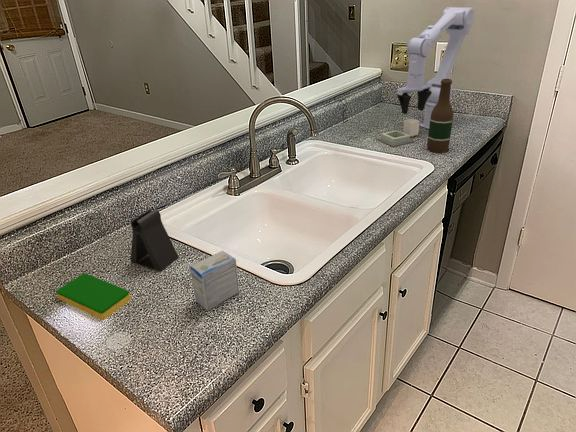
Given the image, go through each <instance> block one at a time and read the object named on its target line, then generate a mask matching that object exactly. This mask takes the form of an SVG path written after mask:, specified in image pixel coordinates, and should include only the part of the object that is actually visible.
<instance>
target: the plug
mask: <svg viewBox="0 0 576 432" xmlns="http://www.w3.org/2000/svg"><path fill="white" fill-rule="evenodd" d="M420 122H421V121H420V120H418V119H415V118H408V119H404V120H403V124H402V125H403V128H402V132H403V133H406V134H408V135H411V136H410V138H414V136H418V135H419V129H420V126H419V124H420Z"/></svg>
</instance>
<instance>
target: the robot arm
mask: <svg viewBox="0 0 576 432" xmlns="http://www.w3.org/2000/svg"><path fill="white" fill-rule="evenodd" d="M474 20H475V11H474V8H473V7H471V6H470V7H455V6H447V7H446V8H445V9H444V10H443V11H442V15H441V17H440V19H438V21H437V22H435V24H434V25H433V24H432V25H431V24H429V25H428V26H427V27H426V28H425V29H424V30H423V31H422V32H421V33H420V34H419V35H418V36H416V37H413V38H411V39H409V41H408V42H407V45H406V52H407V60H408V70H407V82H406V84H405V86H403V87H400V88H397V92H396V97H397V98H398V101H399V104H400V108H401V109H400V110H401V113H402V114H404V115H406V114H408V111H409V105H410V101H411V99H412V95H409V94H411V93H417V110H418V111H422V112H423V111H424V115H423V122H422V123H419V127H422V128H424V129H428V130H429V125H430V118H431V113H432V110H433V108H434V107H435V106H436V104H437V103H438V99H439V94H440V89H441V80H442V79H451V78H450V77H451V74H452V72H453V69H454V67H455V64H456V61H457V59H458V56H459V53H460V50H461V48H462V45H463V43H464V41H465V40H464V39H465V37H466V36H467V35H469V33H470V31H471V28H472V26H473V22H474ZM444 31H445V32H446V33H447V34H448V35H449V39H448V42H447V44H446V47H445V48H444V49H445V50H444V51H443V54H442V58H441V60H440V63H439V66H438V68H437V71H436V74H435V76H434V77H433V78H430V79H429V80H427V83H424V82H425V76H426V75H425V74H426V66H427V65H426V64H427V56H429V55H430V53H431V50H432V49H433V46H434V44H435V43H437V42H438V41H439V40H440V39H441V36H442V33H443V32H444ZM453 89H454V87H453V85H452V84H451V90H450V100H451V98H452V93H453Z"/></svg>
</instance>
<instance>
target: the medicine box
mask: <svg viewBox="0 0 576 432" xmlns="http://www.w3.org/2000/svg"><path fill="white" fill-rule="evenodd" d="M237 267H238V266H237V259H236V257H235V258H234V257H233V256H232V255H231V254H229V253H228V252H226V251H224V250H221V251H218V252H217V253H214V254H213V255H210V256H208V257H206V258H205V259H203V260H200V261H199V262H196V263H194V264H192V265H190V266H189V269H190V270H189V271H190V276H191V281H192V287H193V292H194V297H195V298H194V299H195V301H196V302H197V303H198V304H199V305H200V306H201V307H202V308H204V310H206V311H210V310H212V309H213V308H216V307H217V306H218V305H220V304H222V303H223V301H224V302H225V301H227V300H229V299H230V298H232V297H234V296H235V294H236V295H238V293H240V287H239V286H240V285H239V277H238V276H239V275H238V269H237ZM233 295H234V296H233ZM228 298H229V299H228Z"/></svg>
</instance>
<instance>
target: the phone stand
mask: <svg viewBox="0 0 576 432" xmlns="http://www.w3.org/2000/svg"><path fill="white" fill-rule="evenodd" d="M130 226H131V229H132V238H131V249H130V250H131V252H130V263H131V264H134V265H138V266H141V267H144V268H145V267H146V268H147V269H150V270H154V271H157V272H160V273H161V272H162V271H163V270H164V269H166V268H167V267H169V266H170V265H171V264H172V263H174V262H175V261H176V260H177V259H179V255H178V253H177V251H176V248H175V246H174V245H173V242H172V241H171V238H170V237H169V234H168V232H167V230H166V228H165V225H164V223H163V221H162V218H161V213H160V211H159V209H157V208H155V209H154V208H153V207H152V208H150V209H148V210H147V211H145V212H143V213H142V214H141V215H139V216H137V217H136V218H134V219H133V220H131V222H130Z"/></svg>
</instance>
